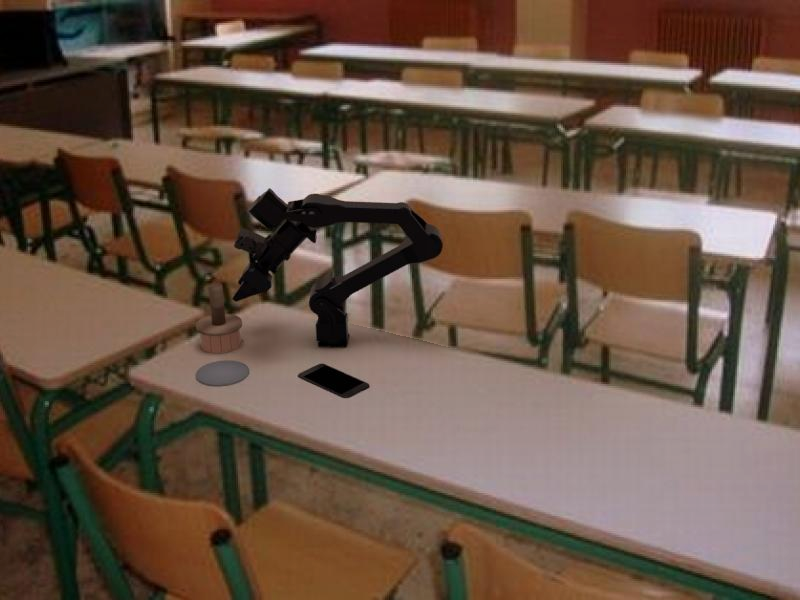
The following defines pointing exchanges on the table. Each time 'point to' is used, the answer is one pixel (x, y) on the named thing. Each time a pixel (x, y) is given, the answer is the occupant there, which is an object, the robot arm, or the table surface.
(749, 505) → the table surface
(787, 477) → the table surface
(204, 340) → the bowl
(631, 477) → the table surface
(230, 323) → the post with round base
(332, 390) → the smartphone
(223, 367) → the mat
